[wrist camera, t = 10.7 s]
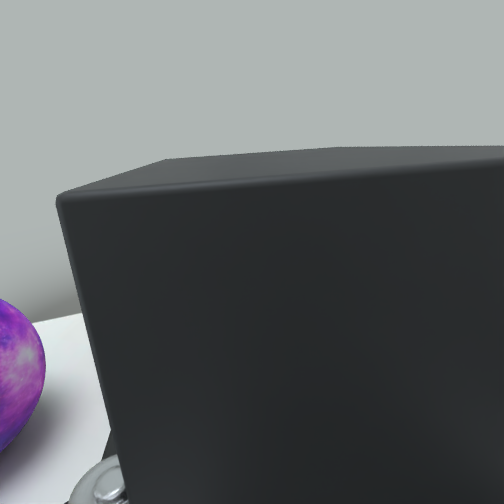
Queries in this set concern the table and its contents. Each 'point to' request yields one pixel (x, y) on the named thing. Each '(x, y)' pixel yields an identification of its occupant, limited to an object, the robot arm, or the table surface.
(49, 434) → the table surface
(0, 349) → the decorative orb
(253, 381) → the dark grey upright block
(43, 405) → the table surface
